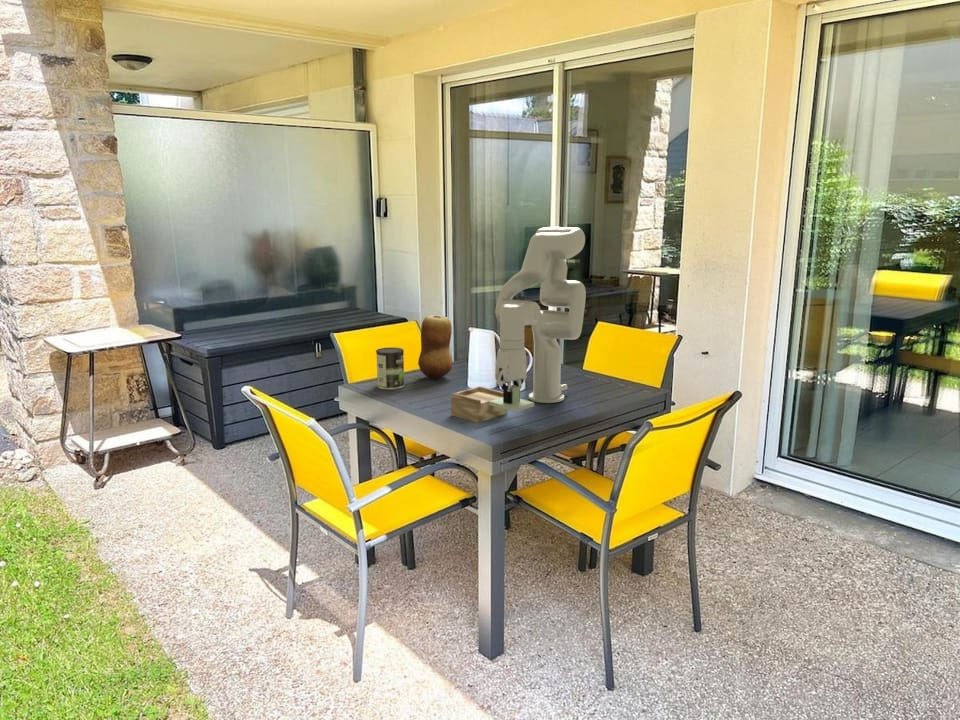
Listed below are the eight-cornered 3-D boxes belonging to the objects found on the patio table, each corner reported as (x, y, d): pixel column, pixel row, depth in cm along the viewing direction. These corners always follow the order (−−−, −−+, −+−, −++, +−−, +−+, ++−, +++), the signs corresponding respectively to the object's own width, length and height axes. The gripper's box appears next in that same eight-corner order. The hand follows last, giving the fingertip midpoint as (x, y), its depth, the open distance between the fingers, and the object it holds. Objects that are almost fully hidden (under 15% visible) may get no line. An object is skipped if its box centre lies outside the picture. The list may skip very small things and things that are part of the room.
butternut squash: (451, 382, 273) (451, 318, 267) (417, 382, 273) (415, 318, 267) (453, 373, 286) (452, 312, 281) (420, 374, 286) (418, 313, 281)
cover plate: (508, 399, 229) (508, 380, 227) (534, 406, 221) (534, 386, 220) (488, 404, 222) (489, 385, 221) (514, 412, 215) (515, 392, 213)
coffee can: (408, 383, 271) (407, 347, 268) (398, 390, 262) (397, 353, 258) (383, 382, 274) (382, 346, 271) (372, 388, 264) (371, 351, 261)
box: (481, 406, 242) (481, 385, 240) (506, 413, 234) (507, 392, 232) (451, 414, 232) (450, 393, 230) (477, 422, 224) (477, 401, 222)
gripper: (520, 339, 226) (519, 394, 230) (484, 346, 214) (484, 404, 218) (538, 342, 220) (537, 399, 224) (502, 350, 209) (502, 409, 213)
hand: (511, 401), depth 221 cm, fingers closed on cover plate, 3 cm apart
